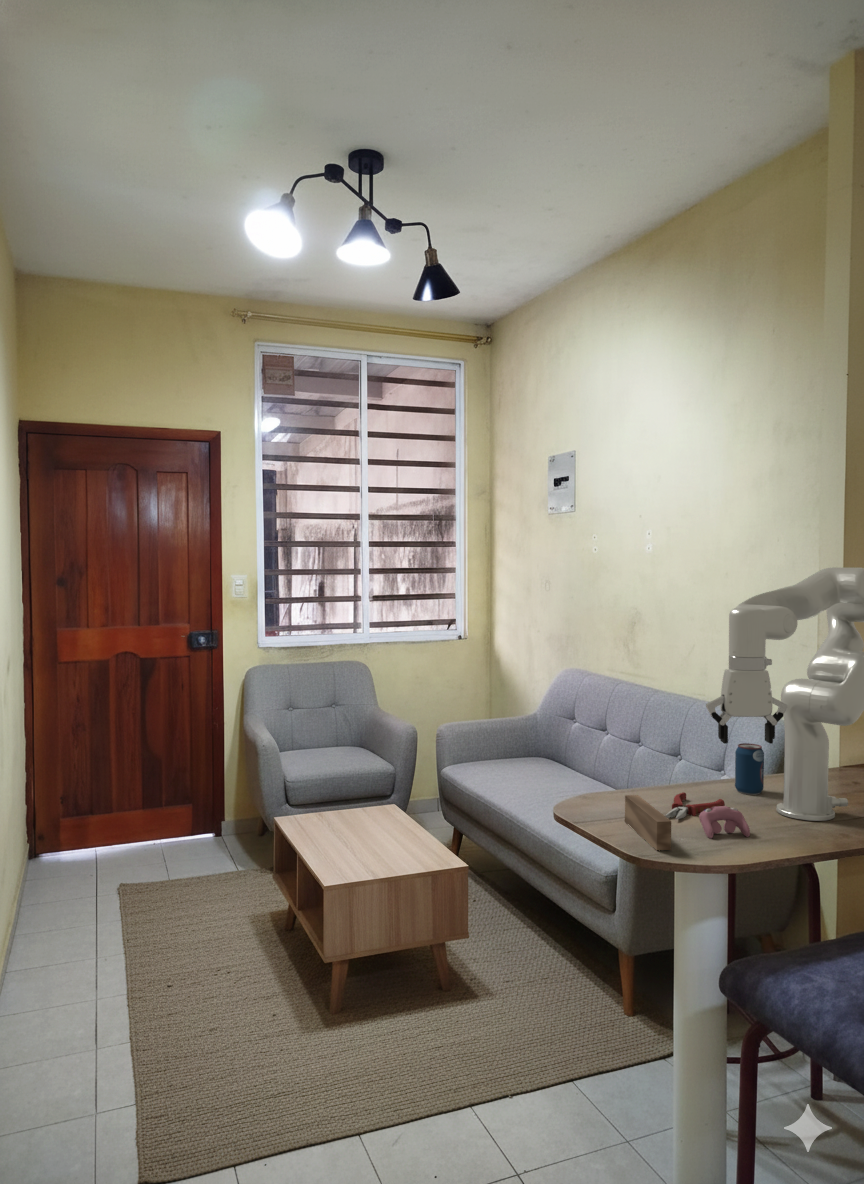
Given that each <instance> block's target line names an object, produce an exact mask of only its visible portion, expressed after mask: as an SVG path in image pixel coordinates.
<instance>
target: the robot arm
mask: <svg viewBox="0 0 864 1184" xmlns="http://www.w3.org/2000/svg"><path fill="white" fill-rule="evenodd" d="M824 611H826V619H827V628H828V631H827V632H828V633H827V636H826V637H825V639H824V640H823V642H822V644H821V645H820V646H819V648H818V649H817V651H816V652H815V654H814V655H813V657H812V658H811V659H810V661H809V663H808V666H807V669H806V675H807V678H795V679H791V680H790V681H788V682H786V683H785V684H784V686H783V687H782V689H781V693H780V700H779V699H776V698H775V697H773V693H772V692H773V691H772V683H771V677H770V672H769V671H768V670H766V669H767V667H768V666H772V665H773V659H771V658H767V656H766V643H767V642H766V641H767V640H772V641H777V640H778V641H782V640H787V639H789V638H790V637H792V636H793V635H794V634H795V633H796V630H797V629H798V628H797V627H798V621H801V620H802V621H803V620H807V619H812V618H815V617H817V616H818V615H820V614H821V613H823V612H824ZM855 623H864V567H837V566H836V567H834V566H833V567H826V568H823V569H820V570H819V571H817V572H815V573H813V574H811V575H809V576H808V577H806V578H805V579H803V580H800V581H799V582H797V583H796V584H793V585H789V586H784V587H780V588H777V589H775V590H774V589H773V590H770V591H766V592H762V593H760V594H759V593H758V594H757V595H754V596H751V597H749V598H748V599H745V600H743V601H742V602H741V603H739V604H738V605H737V606H735V607H734V608H732V609H731V610H730V611H729V614H728V668H727V669H724V670H723V671H724V672H723V675H722V676H723V677H722V682H721V689H720V690H721V691H720V696H719V697H717V698H715V699H713V700H711V701H709V702H707V703H706V704H705V707H706V709H707V711H708V713H709V715H710V717H711V718H712V719H713V720H715V721H716V723H717V724H718V725H717V733H718V734H717V735H718V739H719V740H720V742H721V743H723V745H724V744H728V743H729V742H728V741H729V726H728V725H727V722H728V721H729V720H730V719H731V718H732V717H733V718H734V717H735V718H737V717H738V718H761V717H763V718H764V720H766V722H765V724H764V741H765V742H767V744H773V743H774V740H775V738H776V726H777V725H778V722H779V721H780V720H782V719H784V720H783V723H784V724H783V725H784V754H783V755H784V759H783V760H784V761H783V762H784V763H783V764H784V765H783V802H779V803H777V804H776V810H775V811H776V812H777V813H778V814H779V815H782V816H785V817H787V818H790V819H791V818H792V819H797V820H802V821H812V822H814V821H817V822H821V821H822V822H823V821H829V820H833V819H834V818H835V817H836V816H835V815H836V813H835V810H834V809H835V808H836V807H848V805H849V800H848V799H847V798H846V797H836V796H832V795H829V758H830V740H829V736H828V733H827V731H826V729H825V727H824V725H823V724H829V725H834V726H843V727H846V726H850V725H853V724H854V723H856V722H857V721H858V720H859V718H860V717H861V716H862V714H863V712H864V651H863V650H864V640H863V637H862V635H861V633H860V632H859V631H858V629H857V628H856V625H855ZM773 705H775V706H777V710H776V711H775V712H774V713H773ZM716 707H719V708H720V712H721V713H720V714H718V712H717V711H716ZM822 723H823V724H822Z"/></svg>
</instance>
